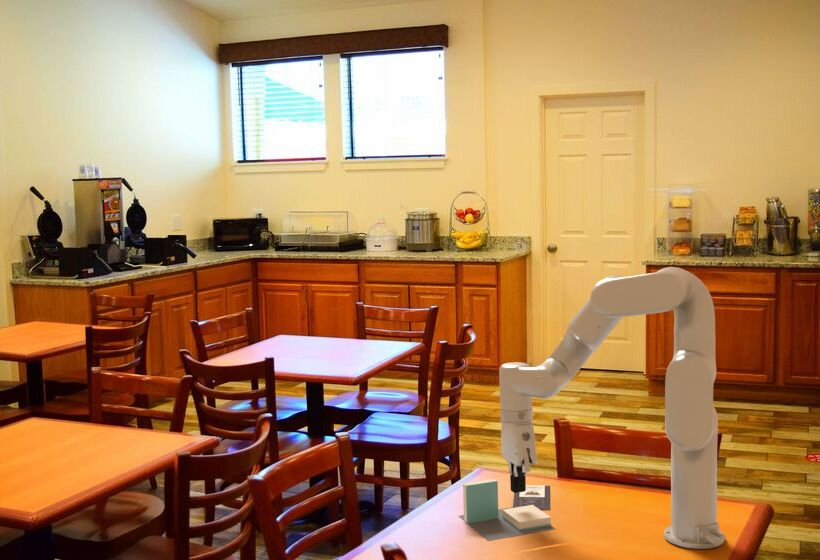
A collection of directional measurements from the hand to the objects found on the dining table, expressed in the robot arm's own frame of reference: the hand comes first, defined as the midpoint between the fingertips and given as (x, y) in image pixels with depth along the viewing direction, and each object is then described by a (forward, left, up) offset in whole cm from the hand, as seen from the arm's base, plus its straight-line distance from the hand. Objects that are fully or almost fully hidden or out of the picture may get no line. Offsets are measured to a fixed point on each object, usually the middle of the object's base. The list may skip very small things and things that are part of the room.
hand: (518, 491), depth 209 cm
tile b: (+2, +9, -6) cm, 11 cm away
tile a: (0, 0, -5) cm, 5 cm away
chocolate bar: (+10, -9, -7) cm, 15 cm away
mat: (-2, +5, -6) cm, 8 cm away
